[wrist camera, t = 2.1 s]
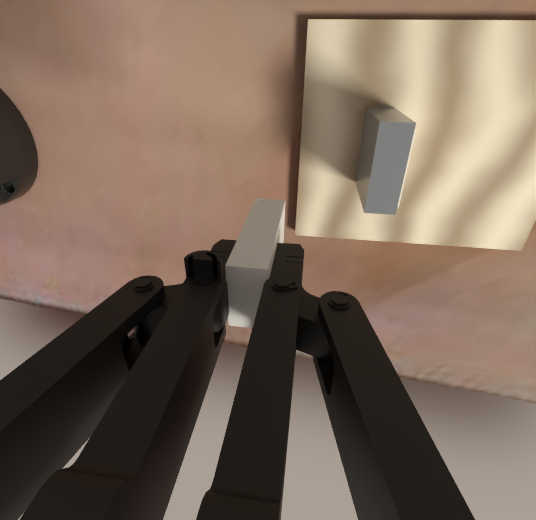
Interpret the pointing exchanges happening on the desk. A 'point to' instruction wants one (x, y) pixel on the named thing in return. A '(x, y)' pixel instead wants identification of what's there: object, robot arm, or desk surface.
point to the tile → (384, 159)
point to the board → (423, 129)
